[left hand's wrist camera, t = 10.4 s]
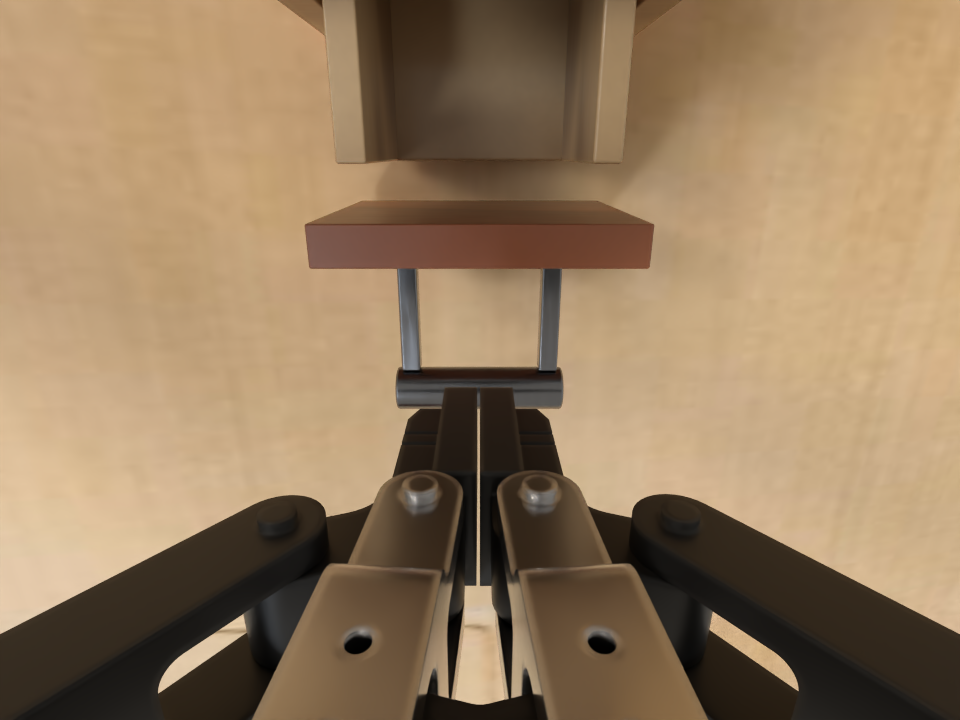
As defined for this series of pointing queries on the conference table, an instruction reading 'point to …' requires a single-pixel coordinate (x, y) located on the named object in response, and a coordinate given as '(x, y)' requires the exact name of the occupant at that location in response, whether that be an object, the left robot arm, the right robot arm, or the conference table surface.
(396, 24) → the drawer
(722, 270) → the conference table surface
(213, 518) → the conference table surface
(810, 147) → the conference table surface
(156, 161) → the conference table surface
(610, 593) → the left robot arm
